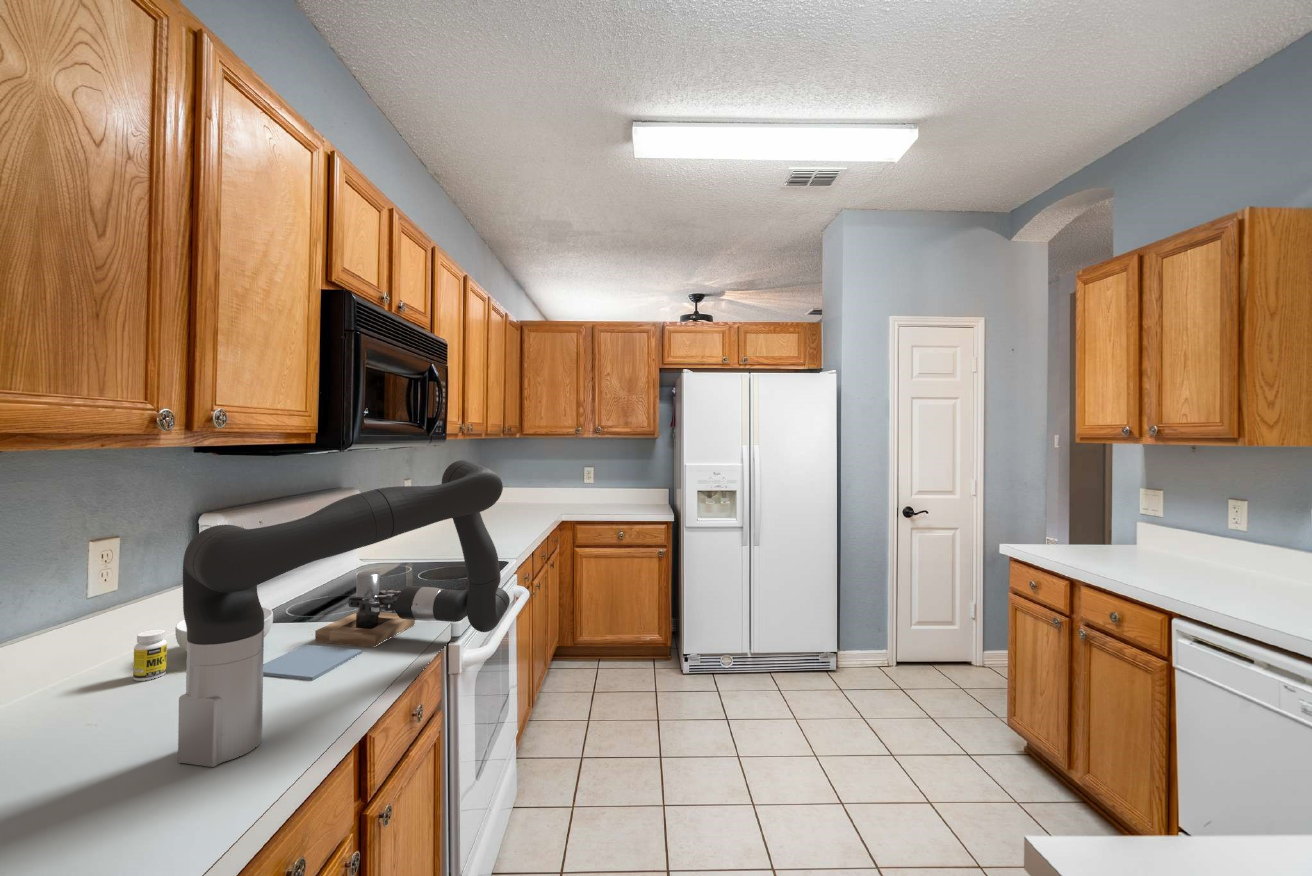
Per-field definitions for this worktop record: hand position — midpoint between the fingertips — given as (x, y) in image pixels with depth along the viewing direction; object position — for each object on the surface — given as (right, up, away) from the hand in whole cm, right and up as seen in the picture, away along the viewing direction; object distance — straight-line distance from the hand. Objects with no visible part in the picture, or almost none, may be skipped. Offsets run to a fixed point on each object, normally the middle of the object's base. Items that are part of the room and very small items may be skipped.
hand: (357, 598), depth 135 cm
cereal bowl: (-22, -8, -12) cm, 26 cm away
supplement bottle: (-26, -8, -26) cm, 38 cm away
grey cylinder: (+2, -8, 0) cm, 8 cm away
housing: (+2, -8, 0) cm, 8 cm away
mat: (-1, -8, -18) cm, 20 cm away
